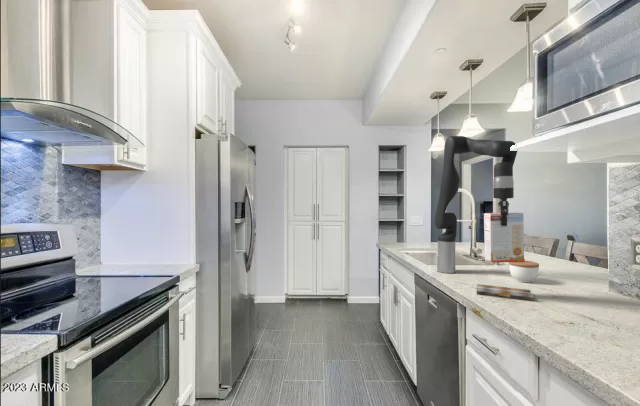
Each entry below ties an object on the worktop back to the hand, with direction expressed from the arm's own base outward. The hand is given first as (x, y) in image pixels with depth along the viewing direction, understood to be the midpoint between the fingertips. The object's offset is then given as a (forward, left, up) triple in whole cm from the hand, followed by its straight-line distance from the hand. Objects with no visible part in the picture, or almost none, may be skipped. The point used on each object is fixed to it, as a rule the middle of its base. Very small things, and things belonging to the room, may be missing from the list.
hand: (503, 225), depth 132 cm
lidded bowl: (+10, +29, -29) cm, 42 cm away
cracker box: (0, 0, -16) cm, 16 cm away
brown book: (0, -1, -29) cm, 29 cm away
